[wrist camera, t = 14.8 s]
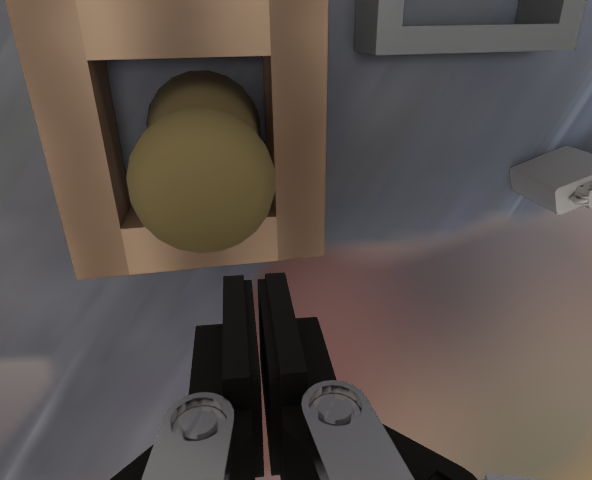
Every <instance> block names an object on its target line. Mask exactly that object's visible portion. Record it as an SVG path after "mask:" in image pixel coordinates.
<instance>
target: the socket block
mask: <svg viewBox="0 0 592 480" xmlns="http://www.w3.org/2000/svg"><path fill="white" fill-rule="evenodd" d="M5 3H6V7H7V11H8V15H9V19H10V22H11V26H12V30H13V34H14V38H15V42H16V46H17V50H18V54H19V57H20V61H21V65H22V69H23V73H24V77H25V81H26V85H27V89H28V92H29V96H30V100H31V104H32V108H33V112H34V116H35V120H36V123H37V127H38V131H39V135H40V139H41V143H42V147H43V151H44V155H45V158H46V162H47V166H48V170H49V174H50V178H51V182H52V186H53V190H54V193H55V197H56V201H57V205H58V209H59V213H60V217H61V221H62V225H63V228H64V232H65V236H66V240H67V244H68V248H69V252H70V256H71V259H72V263H73V267H74V271H75V275H76V279H77V280H80V279H91V278H101V277H112V276H122V275H133V274H143V273H154V272H165V271H175V270H186V269H196V268H207V267H217V266H228V265H238V264H249V263H259V262H270V261H280V260H291V259H301V258H312V257H322V256H324V250H325V184H326V117H327V51H328V0H5ZM238 56H263V78H264V101H265V125H266V147H267V149H268V152H269V155H270V157H271V160H272V163H273V165H274V168H275V189H276V190H275V194H274V197H273V200H272V204H271V207H270V210H269V213H268V215H267V217H266V218H265V220H264V221H263V223H262V224H261V225H260V227H259V228H258V230H257V231H256V232H255V233H253V234H252V235H251V236H250V237H248V238H247V239H246V240H244V241H243V242H242V243H241V244H238V245H236V246H233V247H231V248H228V249H225V250H223V251H219V252H208V253H195V252H190V251H185V250H179V249H176V248H174V247H172V246H170V245H168V244H166V243H164V242H162V241H161V240H159V239H157V238H156V237H155V236H154V235H153V234H152V233H151V232H150V231H149V230H148V229H147V228H146V227H145V226H144V225H142V223H141V221H140V219H139V217H138V216H137V214H136V212H135V210H134V209H133V207H132V205H131V202H130V197H129V191H128V186H127V180H126V174H125V168H124V163H123V157H122V152H121V146H120V141H119V135H118V130H117V124H116V119H115V113H114V108H113V102H112V97H111V91H110V86H109V80H108V75H107V69H106V64H105V60H121V59H160V58H199V57H238Z"/></svg>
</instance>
